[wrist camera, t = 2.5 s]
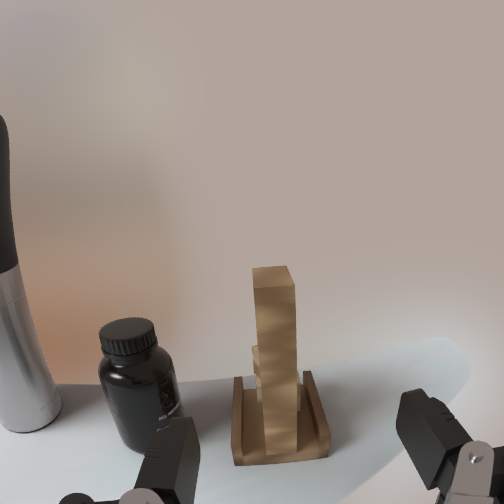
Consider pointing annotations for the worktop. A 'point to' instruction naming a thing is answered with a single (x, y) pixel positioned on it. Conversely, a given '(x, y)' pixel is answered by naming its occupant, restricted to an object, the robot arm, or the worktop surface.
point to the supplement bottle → (137, 381)
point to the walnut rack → (253, 434)
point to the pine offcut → (259, 394)
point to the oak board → (277, 356)
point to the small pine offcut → (256, 360)
